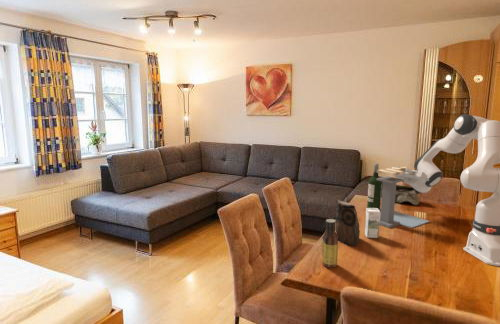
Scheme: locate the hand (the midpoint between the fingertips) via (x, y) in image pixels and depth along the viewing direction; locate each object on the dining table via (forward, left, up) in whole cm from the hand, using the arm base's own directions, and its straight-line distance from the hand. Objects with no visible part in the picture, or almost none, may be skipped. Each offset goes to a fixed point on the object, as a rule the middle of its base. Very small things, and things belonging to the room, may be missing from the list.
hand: (402, 168), depth 188 cm
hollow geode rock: (+40, -12, -31) cm, 52 cm away
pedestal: (-7, +8, -31) cm, 33 cm away
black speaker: (-34, +33, -31) cm, 57 cm away
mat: (+2, -2, -31) cm, 31 cm away
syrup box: (-27, +21, -31) cm, 46 cm away
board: (-4, +5, -1) cm, 6 cm away
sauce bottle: (-61, +46, -31) cm, 83 cm away
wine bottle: (+19, +9, -31) cm, 37 cm away
